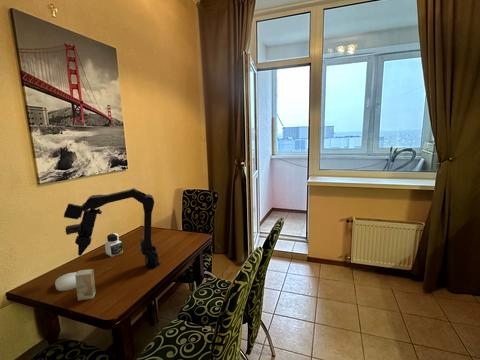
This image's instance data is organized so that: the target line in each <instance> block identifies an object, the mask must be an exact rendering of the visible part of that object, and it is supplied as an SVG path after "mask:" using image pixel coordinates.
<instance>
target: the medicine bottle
mask: <svg viewBox="0 0 480 360" xmlns="http://www.w3.org/2000/svg"><path fill="white" fill-rule="evenodd" d="M106 238H107V242H104V247H105V255H108V256H109V257H115V256H117V255H118V256H119V255H120V254H123V252H124V250H123V249H124V248H123V241H121V240H119V239H120V238H119V234H118V233H115V232H113V233H110V234H108V235H107V236H106Z"/></svg>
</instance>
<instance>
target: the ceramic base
mask: <svg viewBox="0 0 480 360" xmlns="http://www.w3.org/2000/svg"><path fill="white" fill-rule="evenodd" d="M77 272H78V271H75V272H69V273H66V274H63V275H60V276H59V277H58V278H57V279H55V281H54V283H55V285H54V286H55V289H56V291H59V292H65V291H69V290H73V289H75V288H76V289H77V287H76V278H75V275H76V273H77Z"/></svg>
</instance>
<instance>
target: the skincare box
mask: <svg viewBox="0 0 480 360" xmlns="http://www.w3.org/2000/svg"><path fill="white" fill-rule="evenodd" d="M76 272H77V273H76V275H75V278H76V295H77V301H85V300H91V299H94V297H95V296H96V293H97V292H96V283H95V273H94V268H90V269H81V270H78V271H76Z"/></svg>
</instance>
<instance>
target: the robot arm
mask: <svg viewBox="0 0 480 360" xmlns="http://www.w3.org/2000/svg"><path fill="white" fill-rule="evenodd" d="M131 198H132V199H134V200H136V201H137V202H139V203H140V204H142V208H143V212H144V214H143V215H144V217H143V237H142V238H141V239H140V242H139V243H140V244H139V250H140V252H141V254H142V255H143V256H144V261H145V262H144V263H145V265H143V268H145V269H146V268H147V269H150V270H155V269H156V268H157V267H159V266H160V265H161V264H162V263H161V262H160V259H159V254H158V250H157V249H158V248H157V247H156V246H154V245H153V241H152V217H153V216H152V213H153V210H154V207H155V206H154V205H155V200H154V196H153V195H152V194H146V193H144V192H142V191H140V190H137V189H136V188H131V189H127V190H122V191H118V192H113V193H109V194H93V195H90V196H88V197H87V200H86V201H85V202H83V203H82V205H78V204H73V203H68V204H67V207H66V209H65V211H64V214H63V217H64V218H65V219H73V220H79V219H80V218H81V220H80V223H78V224H77V223H75V224H72V225H71V224H70V225H67V226H65V234H66V235H67V236H69V235H72V234H77V236H76V237H75V242H74V243H75V244H76V245H77V246H78V249H77V250H78V251H77V252H78V253H77V255H78V256H82V255H83V253H84V252H85V251H86V250H87V249H88V247H89V246H90V245H91V244H92V235H93V232H94V227H95V224H96V220H97V216H98V215H102V213H103V211H102V210H101V207H103V206H105V205H107V204H109V203H115V202H119V201H123V200H126V199H131Z"/></svg>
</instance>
